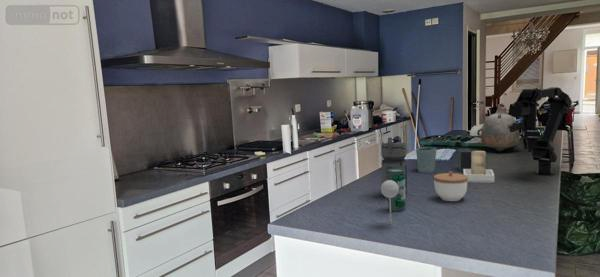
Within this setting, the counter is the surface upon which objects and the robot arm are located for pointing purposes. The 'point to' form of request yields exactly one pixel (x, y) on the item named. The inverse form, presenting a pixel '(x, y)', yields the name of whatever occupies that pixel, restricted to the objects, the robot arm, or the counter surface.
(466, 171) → the tray
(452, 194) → the lidded bowl
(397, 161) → the beverage bottle
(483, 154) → the canister
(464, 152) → the small box
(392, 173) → the can
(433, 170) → the drinking glass
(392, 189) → the lollipop
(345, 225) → the counter surface
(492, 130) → the jug
